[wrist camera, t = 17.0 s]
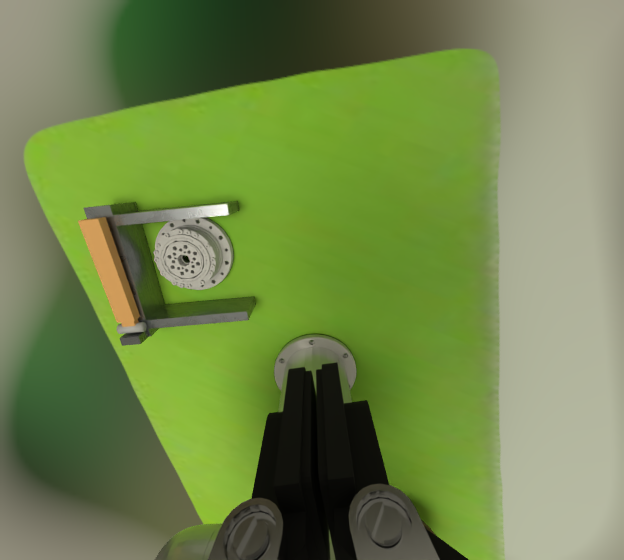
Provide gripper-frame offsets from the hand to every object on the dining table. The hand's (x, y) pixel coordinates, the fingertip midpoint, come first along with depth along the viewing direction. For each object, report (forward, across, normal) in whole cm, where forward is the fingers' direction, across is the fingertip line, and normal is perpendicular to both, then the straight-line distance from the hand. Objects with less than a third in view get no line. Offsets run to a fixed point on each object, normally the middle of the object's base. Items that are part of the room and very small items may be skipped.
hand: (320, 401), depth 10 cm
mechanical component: (+30, +16, -1) cm, 34 cm away
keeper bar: (+25, +24, 0) cm, 34 cm away
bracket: (+30, +17, 0) cm, 35 cm away
